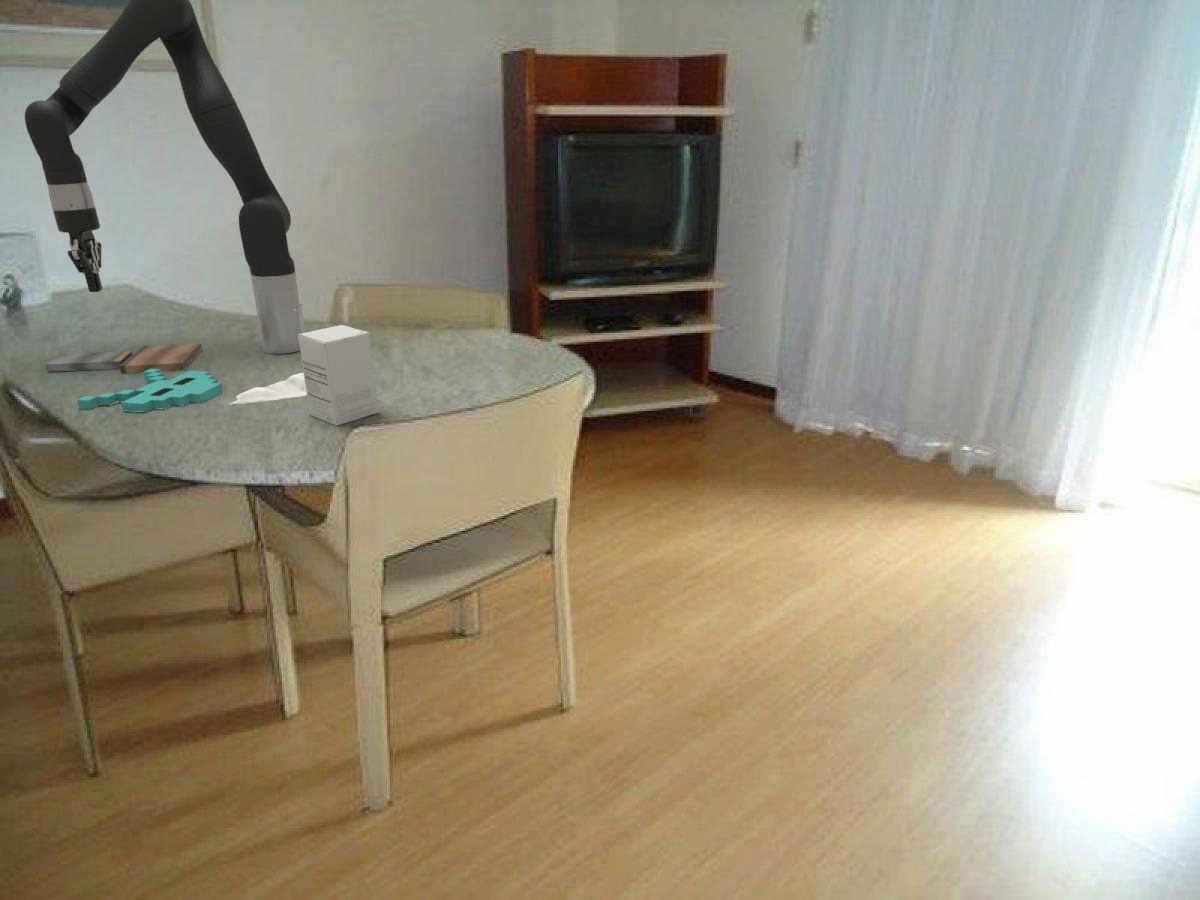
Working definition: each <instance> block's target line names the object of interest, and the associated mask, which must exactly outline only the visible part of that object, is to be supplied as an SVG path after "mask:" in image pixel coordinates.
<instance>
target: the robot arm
mask: <svg viewBox="0 0 1200 900" xmlns="http://www.w3.org/2000/svg"><path fill="white" fill-rule="evenodd" d="M158 39H159V40H160V41H161V43H162V44H163V46H164V48H165V49H166V51H167V53H168V54H169V57H170V58H171V60H172V62H173V65H174V67H175V70H176V73H177V75H178V78H179V82H180V86H181V90H182V93H183V97H184V100H185V104H186V106H187V109H188V111H189V114H190V116H191V118H192V120H193V122H194V125H195V126H196V128H197V130H198V132H199V135H200V137H201V138H202V140H203V142H204V144H205V145H206V147H207V148H208V149H209V150H210V153H211V154H212V155H213V156H214V157H215V159H216V160H217V161H218V163H219V164H220V165H221V166H222V168H223V169H224V170H225V171H226V172H227V174H228V175H229V176H230V178H231V180H232V182H233V183H234V185H235V188H236V189H237V191H238V194H239V197H240V198H241V202H242V203H243V205H242V206H241V208H240V210H239V214H238V227H239V234H240V237H241V243H242V248H243V249H242V250H243V253H244V258H245V261H246V263H247V265H248V266H249V268H248V269H249V272H250V277H251V283H252V291H253V296H254V301H255V310H256V316H257V322H258V328H259V334H260V341H261V346H262V351H263V352H264V353H266V354H272V355H273V354H274V355H278V354H279V355H280V354H281V355H282V354H292V353H296V352H300V346H299V339H298V334H301V333H306V332H307V331H306V326H305V319H304V311H303V305H302V304H301V303H300V298H299V289H298V282H297V277H296V276H297V275H296V270H295V269H296V266H295V261H294V259H293V258H292V256H291V253H290V250H289V245H288V244H289V243H288V239H287V233H288V231H289V230H290V227H291V223H292V222H291V220H292V219H291V213H290V210H289V208H288V206H287V205H286V202H285V201H284V198H283V197H282V196H281V194H280V193H279V191H278V189H277V188H276V186H275V184H274V182H273V181H272V179H271V178H270V176H269V173H268V171H267V170H266V167H265V166H264V163H263V161H262V158H261V156H260V153H259V150H258V148H257V146H256V144H255V141H254V138H253V137H252V135H251V132H250V130H249V128H248V126H247V122H246V121H245V119H244V117H243V114H242V112H241V110H240V108H239V106H238V104H237V102H236V100H235V98H234V96H233V94H232V92H231V91H230V89H229V86H228V85H227V83H226V80H225V79H224V77H223V76H222V74H221V72H220V70H219V68H218V67H217V64H216V63H215V61H214V59H213V58H212V55H211V53H210V51H209V49H208V47H207V45H206V44H207V43H206V41H205V39H204V36H203V33H202V31H201V28H200V26H199V22H198V19H197V16H196V13H195V10H194V7H193V5H192V4H191V2H190V0H129V2H128V3H127V4H126V6H125V8H124V9H123V11H122V12H121V13H120V15H119V16H118V18H117V19H116V20H115V22H114V23H113V24H112V26H110V27H109V29H108V30H107V31H106V32H105V34H103V36H102V37H101V38H100V39H99V40H98V41H97V42H96V43H95V44H94V45H93V46H92V47H91V48H90V49H89V50H88V52H86V53H85V54H84V55H83V56H82V57H81V58H80V59H79V60H78V61H77V62H76V63H75V64H74V65H73V66H72V67H70V69H69V70H68V71H67V72H66V73H65V74H64V75H63V76H62V77H61V79H60V81H59V87H58V88H57V89H56V90H55V91H54V92H53V93H52V94H51V95H50V96H49V97H48V98H47V99H45V100H35V101H33V102H31V103H29V105H28V106H27V107H26V108H25V111H24V123H25V128H26V130H27V133H28V135H29V138H30V140H31V143H32V145H33V147H34V149H35V152H36V154H37V156H38V157H39V159H40V161H41V165H42V169H43V172H44V177H45V182H46V185H47V188H48V197H49V201H50V205H51V207H52V212H53V216H54V219H55V222H56V223H55V224H56V227H57V230H58V232H61V233H64V234H65V233H67V234H69V235H68V236H69V246H70V250H68V251H67V255H68V257H69V259H70V260H71V262H72V263H73V265H74V267H75V268H76V270H77V271H78V273H80V274H82V275H84V277H85V281H86V285H87V289H88V291H89V292H90V293H99V292H101V291H102V290H103V286H102V282H101V279H100V278H101V277H100V274H99V273H100V269H102V244H101V242H100V241H99V242H97V239H96V238H95V236H94V235H95V234H94V233H93V231H97V230H99V229H100V228H101V224H100V221H99V216H98V214H97V213H98V212H97V209H96V205H95V201H94V197H93V193H92V191H91V189H90V186H89V183H88V180H87V176H86V171H85V167H84V165H83V161H82V159H81V157H80V156H79V154H77V153H76V152H75V150H74V148H73V145H72V141H71V137H70V136H71V135H72V134H74V133H75V132H76V131H77V130H78V129H79V128H80V127H81V126H82V124H83V123H84V121H85V120H86V119H87V118H88V116H89V115H90V113H91V111H92V110H93V109H94V108H96V107H97V106H98V105H100V103H102V102H103V100H104V99H105V98H106V97H107V96H109V94H110V93H112V92H113V90H114V89H115V88H116V87H117V86H118V85H119V84H120V82H121V81H123V78H125V76H126V74H127V72H128V71H129V70H130V68H131V66H132V65H133V64H134V62H135V61H136V59H137V58H138V57H139V55H141V54H142V52H143V51H145V49H146V48H148V47H149V46H150V45H151V44H152V43H154V42H155V41H157V40H158Z"/></svg>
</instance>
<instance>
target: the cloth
mask: <svg viewBox="0 0 1200 900" xmlns="http://www.w3.org/2000/svg"><path fill="white" fill-rule="evenodd" d="M304 396H306V397H307V393H306V386H305V379H304V373H303V372H300V373H299V372H298V373H296V374H292V375H290V376H289V377H288V378H286V380H281V381H278V382H275V383H273V384H272V383H271V384H268V385H267V386H264V387H257V386H255V387H252V388H250V389H248V390H246V391H243V392H242V393H239V394H237V395H236V397H235V398H236V400H235V401H234V400H233V401H232V402H231V403H228V406H233V405H242V404H244V405H245V404H251V403H261V402H267V401H279V400H284V399H291V398H296V397H297V398H299V397H304Z"/></svg>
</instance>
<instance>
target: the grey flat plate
mask: <svg viewBox="0 0 1200 900" xmlns="http://www.w3.org/2000/svg"><path fill="white" fill-rule="evenodd" d="M133 354H134V353H133V351H132V350H129V351H128V350H126V351H105V352H80V353H79V352H78V353H74V352H73V353H61V354H58V356H56V357H55V358H53V359H52V360H50V361H49V362H47V363H46V364H45V366H46V370H47V372H48V373H50V372H51V373H52V372H72V371H73V372H74V371H97V370H99V371H100V370H118V369H119V370H120V365H121V364H122V363H123V362H125V361H126V360H127V359H128V358H129V357H131V356H132V355H133Z"/></svg>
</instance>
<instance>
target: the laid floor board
mask: <svg viewBox="0 0 1200 900" xmlns="http://www.w3.org/2000/svg"><path fill="white" fill-rule="evenodd" d="M202 352H203V347H202V343H181V344H163V345H142V346H141V347H140V348H139V349H138V350H136V351H135V352H134V353H132V354H133V355H132V356H131V357H129V358H128V359H127V360H126V361H125V362H123V363H122V364H121V365H120V369H119V370H120V374H122V375H124V374H125V375H129V374H128V373H131V374H140V373H139V372H144V371H146V370H149V369H161V371H167V372H177V371H176V370H184V369H185V368H186V367H187V366H188V365H189V366H190V364H192V362H193V361H194V360H195V359H196V358H197V357H198V356H199V355H200V354H201V353H202ZM199 353H200V354H199ZM198 354H199V355H198ZM197 355H198V356H197ZM196 356H197V357H196ZM195 357H196V358H195ZM194 358H195V359H194ZM189 366H188V367H189ZM188 367H187V368H188ZM187 368H186V369H187ZM186 369H185V370H186ZM185 370H184V371H185Z"/></svg>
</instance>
